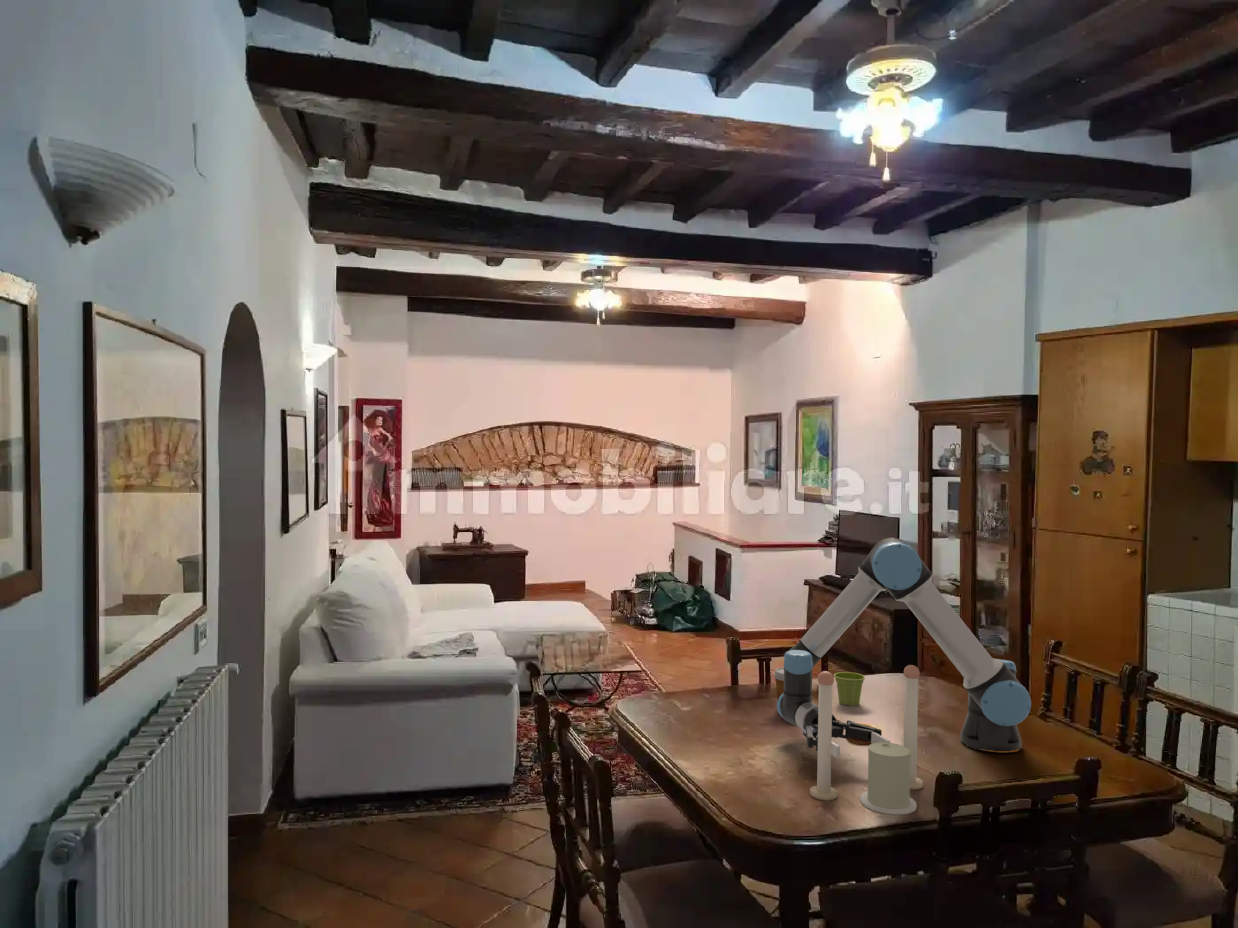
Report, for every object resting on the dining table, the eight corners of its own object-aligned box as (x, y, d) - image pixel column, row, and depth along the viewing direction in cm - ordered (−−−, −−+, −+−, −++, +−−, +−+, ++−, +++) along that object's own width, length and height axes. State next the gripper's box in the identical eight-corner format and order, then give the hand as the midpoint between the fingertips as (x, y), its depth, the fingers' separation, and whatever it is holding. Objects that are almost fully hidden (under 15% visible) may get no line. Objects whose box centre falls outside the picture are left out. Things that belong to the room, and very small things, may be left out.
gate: (912, 778, 204) (914, 661, 204) (928, 787, 199) (930, 667, 198) (805, 791, 196) (807, 668, 195) (818, 801, 190) (821, 675, 189)
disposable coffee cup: (805, 716, 252) (806, 675, 252) (772, 713, 254) (773, 673, 253) (804, 706, 261) (805, 667, 261) (773, 704, 263) (774, 665, 263)
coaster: (915, 796, 193) (915, 794, 193) (917, 818, 182) (917, 815, 182) (860, 789, 197) (861, 787, 197) (859, 810, 186) (859, 807, 185)
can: (901, 792, 194) (902, 739, 194) (916, 808, 185) (917, 754, 185) (861, 792, 194) (862, 739, 194) (874, 809, 185) (875, 754, 185)
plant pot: (827, 700, 269) (828, 672, 268) (853, 697, 271) (854, 670, 271) (844, 708, 260) (844, 680, 260) (870, 706, 262) (871, 678, 262)
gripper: (858, 731, 223) (908, 759, 202) (772, 740, 215) (816, 770, 195) (858, 703, 223) (909, 728, 202) (773, 710, 215) (817, 737, 195)
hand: (863, 749), depth 199 cm, fingers open, 13 cm apart
